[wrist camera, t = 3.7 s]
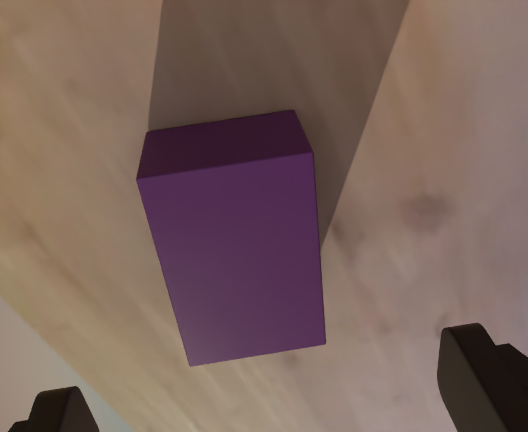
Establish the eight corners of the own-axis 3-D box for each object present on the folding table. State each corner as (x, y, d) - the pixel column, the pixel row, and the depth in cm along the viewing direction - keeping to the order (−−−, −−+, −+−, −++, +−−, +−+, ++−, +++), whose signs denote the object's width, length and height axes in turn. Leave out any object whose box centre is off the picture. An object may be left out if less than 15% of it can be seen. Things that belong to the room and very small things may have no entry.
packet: (309, 285, 19) (326, 345, 16) (190, 304, 19) (189, 367, 16) (294, 109, 15) (313, 151, 13) (145, 131, 15) (135, 178, 12)
